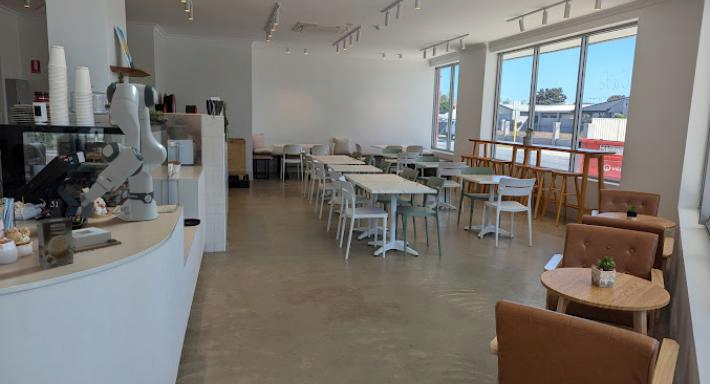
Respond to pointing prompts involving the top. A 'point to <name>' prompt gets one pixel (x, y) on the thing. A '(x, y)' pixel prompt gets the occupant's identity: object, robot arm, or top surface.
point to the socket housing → (89, 236)
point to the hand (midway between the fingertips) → (84, 204)
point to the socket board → (97, 246)
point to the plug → (86, 208)
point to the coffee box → (55, 242)
